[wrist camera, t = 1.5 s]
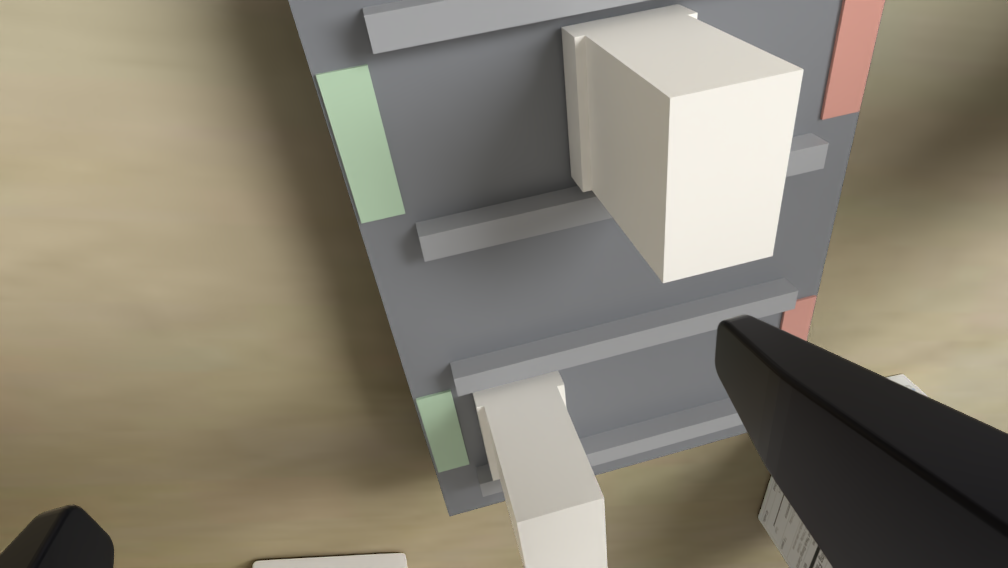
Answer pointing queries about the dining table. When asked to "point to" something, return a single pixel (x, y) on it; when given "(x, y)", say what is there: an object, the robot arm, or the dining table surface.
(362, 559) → the off-white cardboard box
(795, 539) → the light bulb box
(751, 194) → the white block
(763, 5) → the breaker panel
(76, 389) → the dining table surface
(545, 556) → the tall cream cuboid
